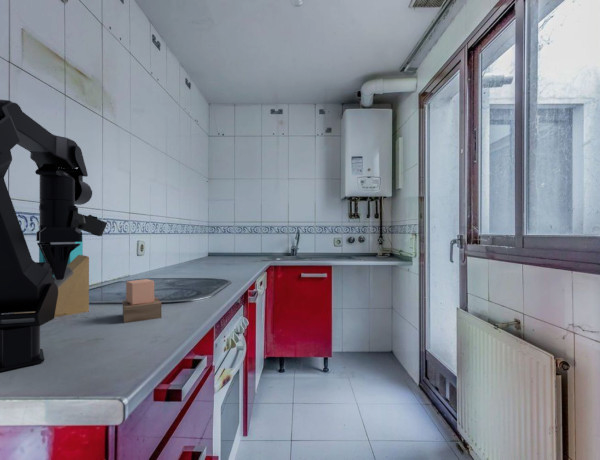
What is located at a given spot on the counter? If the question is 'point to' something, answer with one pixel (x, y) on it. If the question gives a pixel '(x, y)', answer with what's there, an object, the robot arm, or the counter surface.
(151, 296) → the terracotta cube
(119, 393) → the counter surface
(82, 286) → the sandwich container
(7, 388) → the counter surface
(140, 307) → the oak base block
